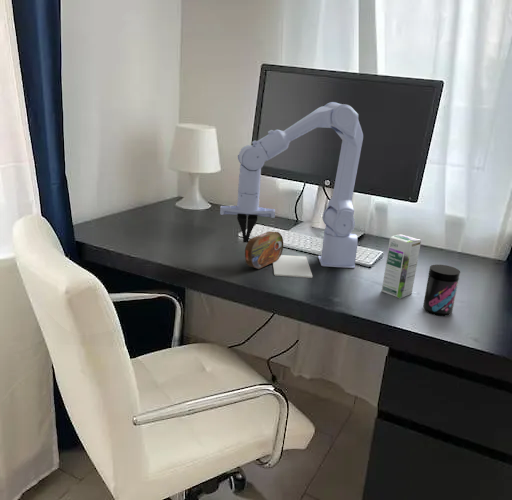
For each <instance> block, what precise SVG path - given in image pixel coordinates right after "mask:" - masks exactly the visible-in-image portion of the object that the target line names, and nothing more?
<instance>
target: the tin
mask: <svg viewBox="0 0 512 500" xmlns="http://www.w3.org/2000/svg"><path fill="white" fill-rule="evenodd" d="M283 250H284V239H283V236H282V234H281V233H280V232H279V231H266V232H264V233H261V234H259V235H256V236H253V237H252V238H249V241H248V243H247V242H246V244H245V249H244V260H245V264H246V265H247V266H248V267H250V268H254V269H258V270H260V269H263V268H264V267H267V266H268V265H271V264H273V262H275V261H277V260H278V259H279V258H280V256H281V255H283Z"/></svg>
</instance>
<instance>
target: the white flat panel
mask: <svg viewBox="0 0 512 500" xmlns="http://www.w3.org/2000/svg"><path fill="white" fill-rule="evenodd" d="M272 269H273V275H274V277H275V276H276V277H292V278H307V279H310V278H311V279H312V278H313V273H312V270H311V267H310V265H309V261H308V257H307V256H303V255H288V254H287V255H286V254H281V256H280V258H279V259H278V260H277V261H275V262H273V263H272Z"/></svg>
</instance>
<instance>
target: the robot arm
mask: <svg viewBox="0 0 512 500" xmlns="http://www.w3.org/2000/svg"><path fill="white" fill-rule="evenodd" d="M318 128H323V129H324V128H325V129H326V128H327V129H332V130H333V131H334V132H335V133H336V134H337V135H338V136H339V138H340V139H341V140H342V141H341V147H340V151H339V158H338V163H337V170H336V176H335V180H334V187H333V193H332V196H331V198H330V199H329V200H328V201H327V207H326V208H325V210H324V211H323V214H322V220H323V223H324V225H325V228H324V230H323V239H322V245H321V246H322V247H321V255H318V256H317V259H318V261H319V263H320V266H321V267H330V268H344V269H345V268H346V269H348V268H349V269H355V268H356V259H357V251H358V235H357V234H356V233H352V232H353V230H355V226H356V225H355V224H356V221H355V218H354V217H355V216H354V213H355V208H354V205H353V195H354V189H355V183H356V178H357V173H358V168H359V163H360V158H361V151H362V146H363V142H364V141H363V140H364V133H363V130H362V126H361V124H360V121H359V113H358V112H357V111H356V110H355V109H354V108H353V107H352V106H351V105H349V104H346V103H345V104H344V103H343V104H342V103H338V102H336V101H330V102H328V103H326V104H325V105H324V106H323V105H322V106H319V107H318V108H316V109H315V110H313V111H312V112H311V113H308V114H307V115H306V116H304V117H303V118H301V119H300V120H298V121H296V122H295V123H293V124H292V125H291V126H288V127H287V128H285V130H282V129H281V130H280V129H275V130H273V129H270V130H268V131H267V135H265V136H263V137H262V138H259V139H258V140H255V139H254V140H253V141H252V142H251V144H252V145H251V144H250V145H249V144H247V145H245V146H243V147H242V148H241V149H240V151H239V153H238V154H237V160H238V162H239V163H240V164H239V173H238V189H237V205H220V207H219V209H220V211H219V215H222V216H224V215H234V216H237V217H236V219H237V222H238V225H239V227H240V230H241V233H242V243H246V244H247V243H248V241H249V240H250V236H251V234H252V232H253V231H252V230H253V229H254V227H255V225H256V223H257V222H258V217H266V218H271V219H275V217H276V209H275V208H268V207H267V208H266V207H261V206H260V195H261V179H262V176H261V174H262V169H263V167H264V165H265V162H267V161H270V160H271V159H273V158H275V157H276V156H278V155H279V154H281V153H283V152H285V151H287V150H288V149H289V146H290V143H291V142H292V141H294V140H296V139H298V138H301V137H302V136H304V135H305V134H307V133H310V132H312V131H313V130H315V129H318Z"/></svg>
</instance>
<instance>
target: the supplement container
mask: <svg viewBox="0 0 512 500" xmlns="http://www.w3.org/2000/svg"><path fill="white" fill-rule="evenodd" d="M460 274H461V270H460V269H458V268H456V267H454V266H451V265H446V264H431V265H430V266H429V269H428V275H427V282H426V288H425V292H424V293H425V294H424V299H423V303H422V305H423V306H422V307H423V310H424V311H425V312H426V313H428V314H430V315H433V316H438V317H447V316H450V315H452V314H453V309H454V305H455V299H456V294H457V289H458V286H459V285H458V284H459V280H460V276H461V275H460Z"/></svg>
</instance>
